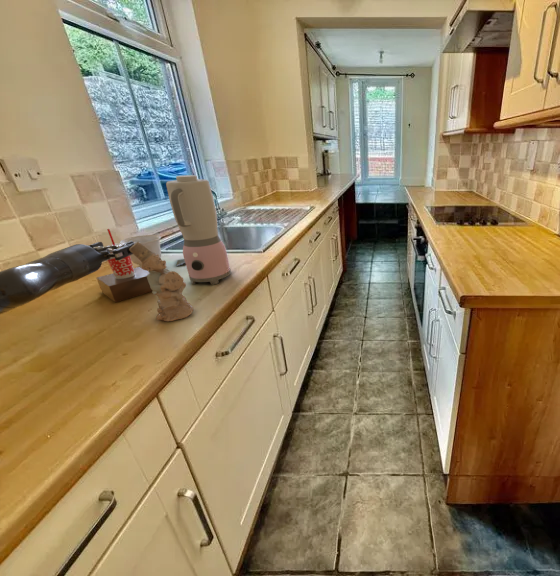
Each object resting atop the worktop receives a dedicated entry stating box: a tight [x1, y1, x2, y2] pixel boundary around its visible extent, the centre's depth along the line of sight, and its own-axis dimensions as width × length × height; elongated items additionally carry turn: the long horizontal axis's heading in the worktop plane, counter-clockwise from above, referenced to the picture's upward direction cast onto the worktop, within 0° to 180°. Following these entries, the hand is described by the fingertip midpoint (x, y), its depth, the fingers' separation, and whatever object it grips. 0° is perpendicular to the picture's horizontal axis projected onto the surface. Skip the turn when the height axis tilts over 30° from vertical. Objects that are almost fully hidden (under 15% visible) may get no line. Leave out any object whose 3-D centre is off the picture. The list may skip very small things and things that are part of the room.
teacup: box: [111, 234, 162, 268], centre depth 113 cm, size 12×15×10 cm
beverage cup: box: [106, 228, 135, 279], centre depth 91 cm, size 6×6×14 cm
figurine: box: [129, 242, 194, 322], centre depth 78 cm, size 9×8×20 cm
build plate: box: [176, 258, 186, 267], centre depth 120 cm, size 12×7×5 cm, turn 117°
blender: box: [165, 174, 232, 286], centre depth 97 cm, size 16×12×32 cm
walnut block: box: [96, 266, 153, 303], centre depth 95 cm, size 11×11×5 cm
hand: (117, 244), depth 91 cm, fingers open, 8 cm apart
